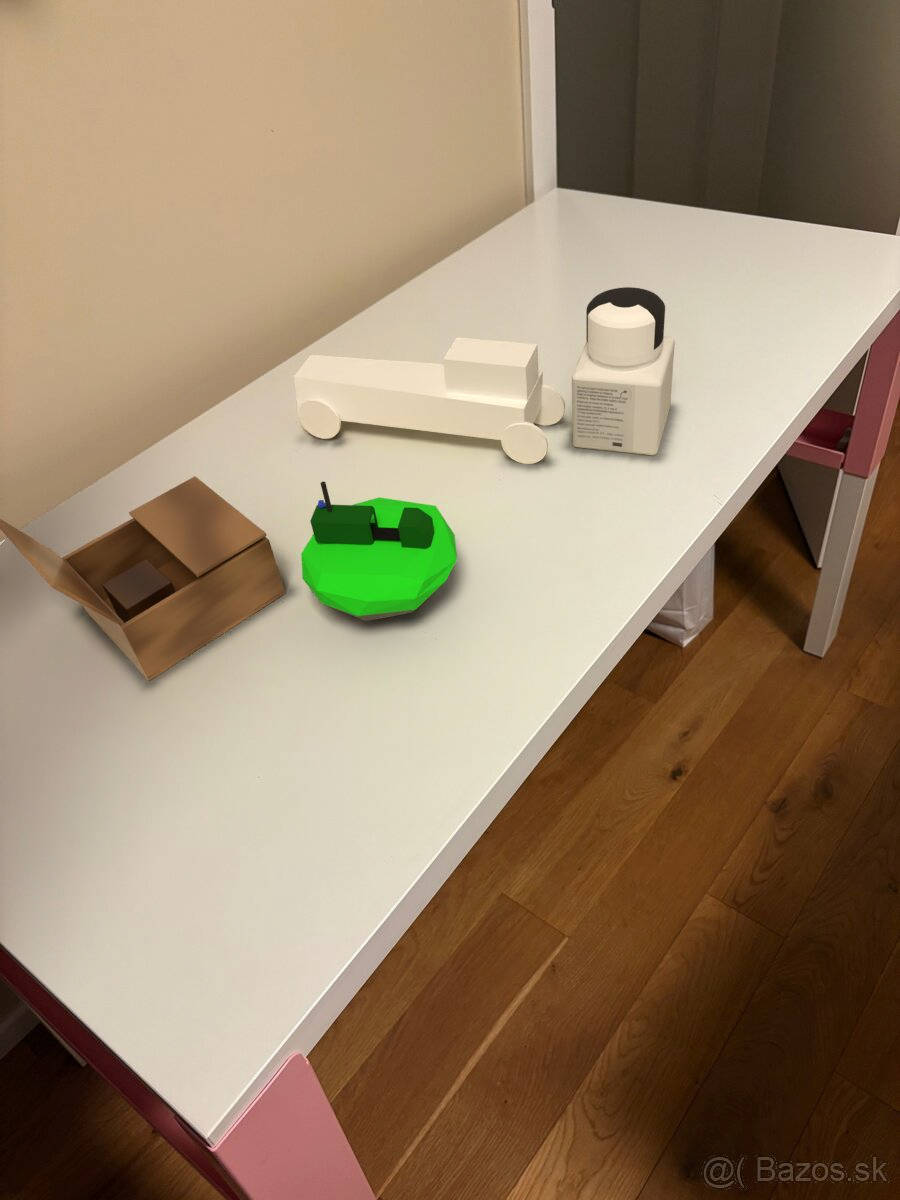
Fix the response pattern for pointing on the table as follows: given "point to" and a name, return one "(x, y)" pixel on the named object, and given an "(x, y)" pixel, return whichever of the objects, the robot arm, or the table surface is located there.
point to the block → (137, 590)
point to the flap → (55, 570)
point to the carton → (182, 573)
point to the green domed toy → (377, 556)
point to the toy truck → (436, 395)
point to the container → (623, 374)
